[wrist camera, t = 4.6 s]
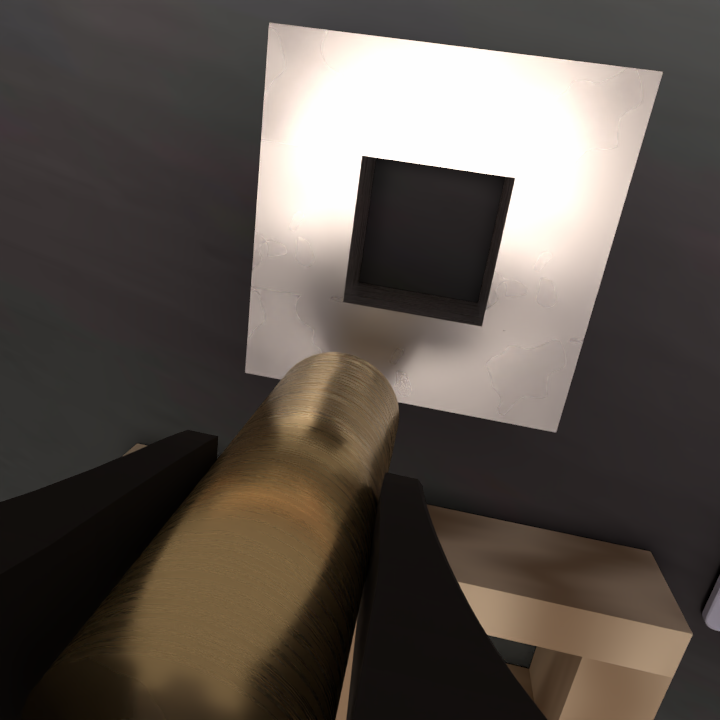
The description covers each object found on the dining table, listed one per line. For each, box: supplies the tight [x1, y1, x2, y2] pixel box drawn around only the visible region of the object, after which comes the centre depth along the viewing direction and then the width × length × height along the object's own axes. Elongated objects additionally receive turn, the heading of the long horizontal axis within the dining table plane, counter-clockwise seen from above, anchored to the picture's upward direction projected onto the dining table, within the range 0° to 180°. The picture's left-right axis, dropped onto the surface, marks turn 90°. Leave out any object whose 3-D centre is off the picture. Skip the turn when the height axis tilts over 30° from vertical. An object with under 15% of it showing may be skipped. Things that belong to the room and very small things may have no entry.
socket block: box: [245, 23, 663, 432], centre depth 17 cm, size 10×10×3 cm
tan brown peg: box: [21, 352, 399, 720], centre depth 10 cm, size 3×3×9 cm
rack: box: [123, 444, 693, 720], centre depth 22 cm, size 21×9×4 cm, turn 82°
